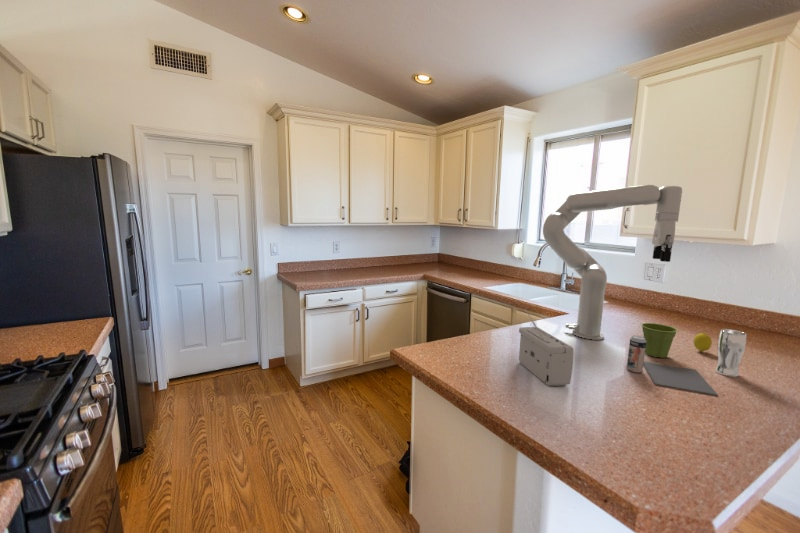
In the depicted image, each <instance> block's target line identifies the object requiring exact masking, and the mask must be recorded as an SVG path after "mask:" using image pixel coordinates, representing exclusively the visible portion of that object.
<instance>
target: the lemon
mask: <svg viewBox="0 0 800 533" xmlns="http://www.w3.org/2000/svg"><path fill="white" fill-rule="evenodd" d="M693 345H694V347H695V348H696V350H698V351H699V352H700V353H703V352H706V351H708V350H710V349H711V348H712V338H711V337H710V335H708V334H707V333H706V332H702V333H698V334H696V335H695V336H694V339H693Z"/></svg>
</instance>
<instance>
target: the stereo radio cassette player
mask: <svg viewBox="0 0 800 533" xmlns="http://www.w3.org/2000/svg"><path fill="white" fill-rule="evenodd" d="M524 311H525V312H526V314H527V316H528V318H529V319H530V321H531V323H532V324H533V326H532V327H531V326H525V327H521V326H520V327H519V329H518V333H519V334H520V338H519V339H520V341H519V351H518V352H519V353H518V360H519V361H518V362H519V363H520V364H521V365H522V366H524V368H526V369H527V370H528V371H529V372H531V373H532V374H533V375H535V377H537V378H538V379H539V380H540V381H542V382H543V383H544V384H545V385H547V387H552V386H553V387H554V386H555V387H557V386H558V387H559V386H563V387H564V386H567V385H570V384H571V380H572V374H573V366H574V354H575V353H574V347H573V346H571V345H570V344H568V343H566V342H564V341H563V340H560V339H559V338H557V337H555V336H554V335H552V334H550V333H548V332H547V331H545V330H543V329H541V328H540V327H538V326H537V325H536V323H535V322H534V320H533V319H532V317H531V316H530V314H529V312H527V309H525V310H524Z"/></svg>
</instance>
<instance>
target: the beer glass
mask: <svg viewBox="0 0 800 533" xmlns="http://www.w3.org/2000/svg"><path fill="white" fill-rule="evenodd" d="M746 345H747V333H746V332H744V331H739V330H736V329H729V328H722V329H720V332H719V336H718V340H717V357H718V358H717V365H716V367H715V368H714V371H715V372H716V373H717V374H720V375H723V376H726V377H731V378H737V377H739V366H740V361H741V360H742V357H743V355H744V352H745V349H746Z"/></svg>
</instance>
